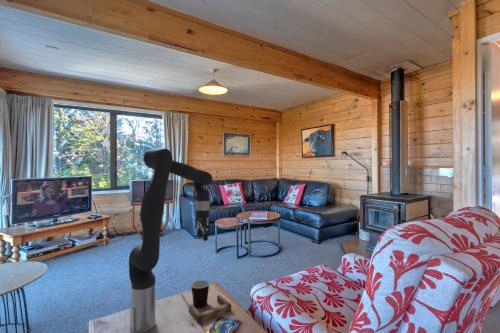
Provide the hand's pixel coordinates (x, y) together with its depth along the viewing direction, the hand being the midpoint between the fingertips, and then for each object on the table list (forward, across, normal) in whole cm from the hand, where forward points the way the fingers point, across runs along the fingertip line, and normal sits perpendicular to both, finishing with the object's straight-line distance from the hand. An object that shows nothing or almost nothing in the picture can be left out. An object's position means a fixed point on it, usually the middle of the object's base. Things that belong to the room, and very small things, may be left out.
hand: (202, 238), depth 134 cm
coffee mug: (+28, +12, -5) cm, 31 cm away
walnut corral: (+28, +21, -5) cm, 35 cm away
